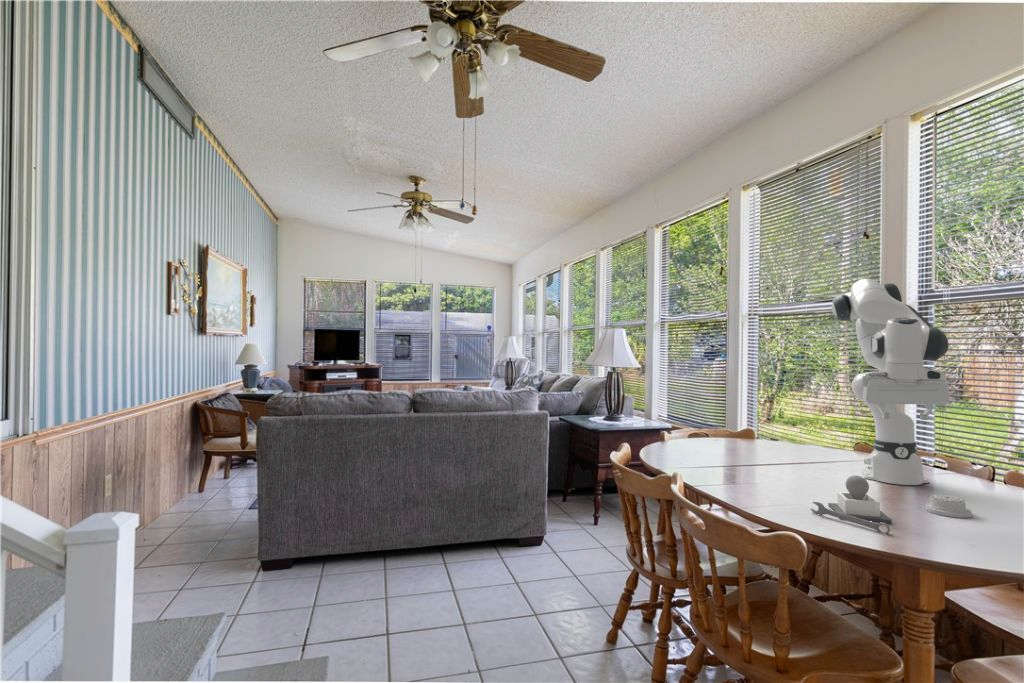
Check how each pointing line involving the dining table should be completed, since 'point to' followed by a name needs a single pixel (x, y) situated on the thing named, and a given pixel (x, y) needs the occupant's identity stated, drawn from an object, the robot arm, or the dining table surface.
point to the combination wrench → (848, 517)
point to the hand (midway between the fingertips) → (904, 419)
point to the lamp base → (859, 507)
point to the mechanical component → (948, 506)
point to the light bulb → (857, 487)
